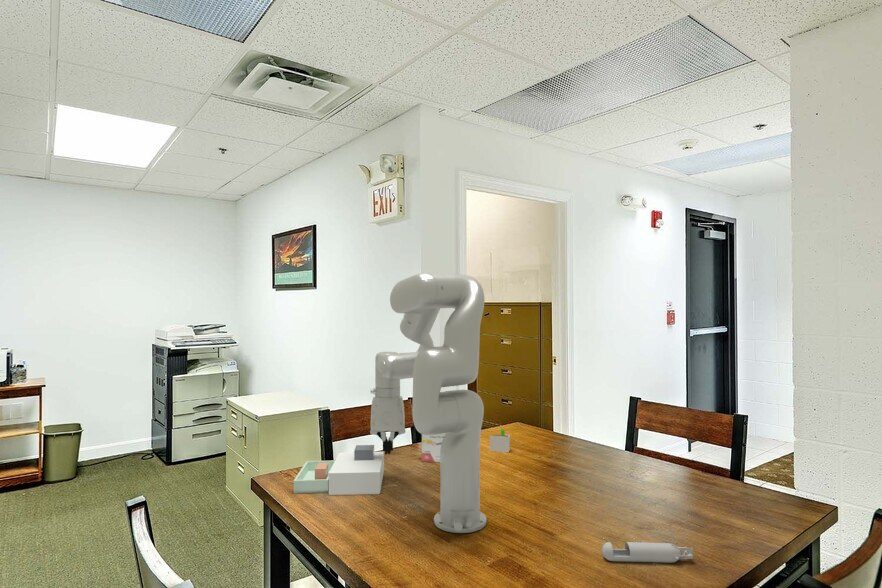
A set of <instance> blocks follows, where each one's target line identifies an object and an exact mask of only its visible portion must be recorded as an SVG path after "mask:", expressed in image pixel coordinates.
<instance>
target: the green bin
mask: <svg viewBox="0 0 882 588" xmlns="http://www.w3.org/2000/svg"><path fill="white" fill-rule="evenodd" d="M335 460H336V459H333V460H307V461H305V463H304V464H303V466H302V467H301V469H300V470H299V472H298V473H297V474H296V477H295V478H294V479H293V494H323V493H324V494H326V493H328V494H329V472H330V470H331V468H332V466H333V464H334V462H335ZM318 463H328V477H327V479H317V480H315V468H316V466H317V464H318Z"/></svg>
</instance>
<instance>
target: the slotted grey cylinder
mask: <svg viewBox="0 0 882 588" xmlns="http://www.w3.org/2000/svg"><path fill="white" fill-rule="evenodd" d="M673 530H674V529H671V543H669V542H647V541H646V542H642V541H641V542H638V541H636V542H635V541H632V542H631V541H626V542H625V544H624V548H613V545H612V543H611V542H610V541H607V542H605V543H604V544H603V545H602V548H601V553H602V555H603V557H604V559H606V560H607V561H608V562H609V561H610V562H619V563H620V562H621V563H624V562H626V563H629V562H630V563H657V564H658V563H660V564H661V563H665V564H669V563H670V564H672V563H676V562H678V561H679V560H693V557H694V556H693V552H694V551H693V548H692V547H686V546H684V547H683V546H677V545H675V544H674V543H673V542H674V541H673V540H674V539H673V538H674V537H673V536H674V535H673V532H674V531H673Z"/></svg>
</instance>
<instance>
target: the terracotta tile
mask: <svg viewBox="0 0 882 588" xmlns="http://www.w3.org/2000/svg"><path fill="white" fill-rule="evenodd" d="M327 477H328V463H318V464H317V466H316V468H315V480H317V479H327Z"/></svg>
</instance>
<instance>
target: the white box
mask: <svg viewBox="0 0 882 588" xmlns="http://www.w3.org/2000/svg"><path fill="white" fill-rule="evenodd" d="M334 460H335V462H334V464H333V466H332V468H331V470H330V472H329V492H328V496H345V495H346V496H347V495H348V496H350V495H351V496H352V495H354V496H355V495H356V496H358V495H380V494H381V489H382V483H383V478H384V473H385V472H384V471H385V451H374V458H373V460H354V451H349V452H348V451H345V452H344V451H341V452H338V454H337V456H336V458H335V459H334Z"/></svg>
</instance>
